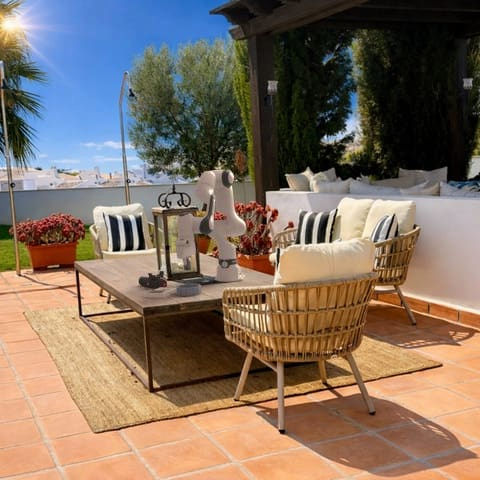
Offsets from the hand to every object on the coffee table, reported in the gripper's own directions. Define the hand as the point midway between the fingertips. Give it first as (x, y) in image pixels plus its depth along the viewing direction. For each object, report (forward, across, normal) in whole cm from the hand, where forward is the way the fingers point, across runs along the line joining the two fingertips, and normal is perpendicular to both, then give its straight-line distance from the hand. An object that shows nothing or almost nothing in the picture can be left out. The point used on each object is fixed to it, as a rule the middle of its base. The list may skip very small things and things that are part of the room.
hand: (187, 264), depth 361 cm
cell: (+3, 0, 0) cm, 3 cm away
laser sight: (+18, -18, -31) cm, 40 cm away
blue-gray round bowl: (+17, 0, 0) cm, 17 cm away
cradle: (+17, +2, -16) cm, 24 cm away
